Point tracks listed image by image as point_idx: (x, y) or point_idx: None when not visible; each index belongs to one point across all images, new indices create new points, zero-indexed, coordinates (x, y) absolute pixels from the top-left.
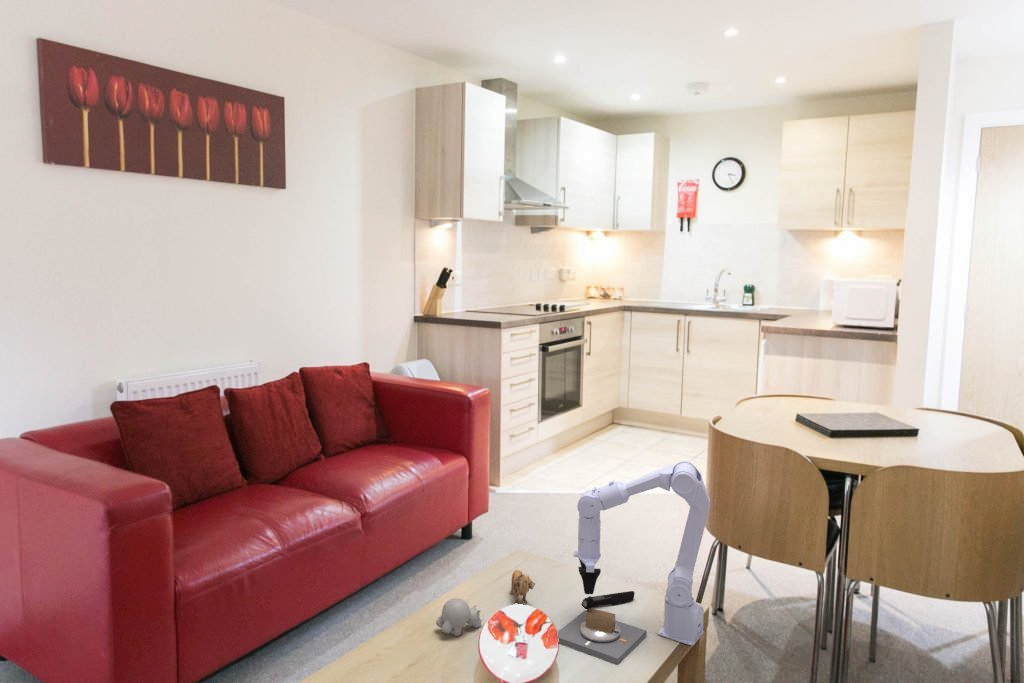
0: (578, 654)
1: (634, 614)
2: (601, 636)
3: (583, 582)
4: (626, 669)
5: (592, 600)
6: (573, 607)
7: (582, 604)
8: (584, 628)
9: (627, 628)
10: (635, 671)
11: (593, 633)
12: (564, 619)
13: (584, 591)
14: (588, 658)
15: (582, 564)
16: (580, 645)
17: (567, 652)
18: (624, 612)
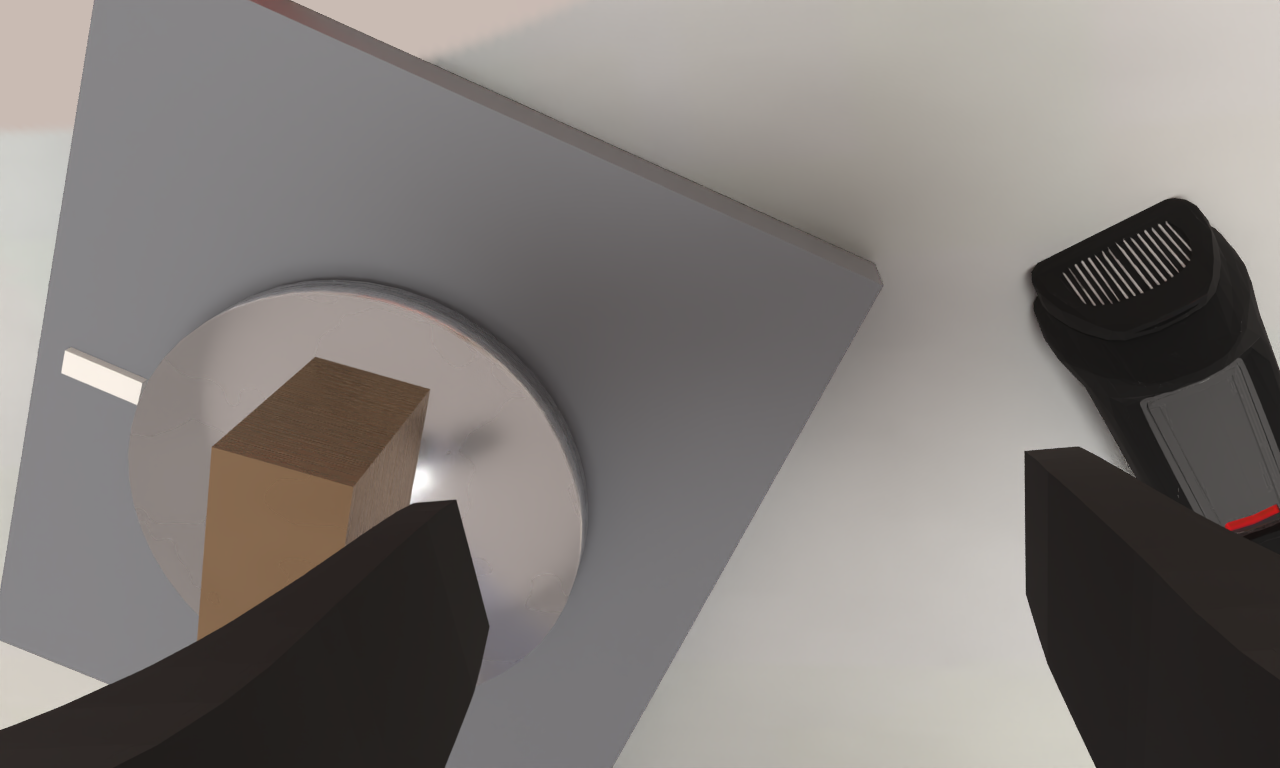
0: (26, 268)
1: (974, 756)
2: (180, 532)
3: (209, 643)
4: (4, 661)
5: (1122, 387)
6: (1099, 92)
7: (1161, 218)
8: (275, 346)
9: (547, 726)
10: (12, 717)
11: (205, 451)
12: (727, 8)
13: (386, 520)
14: (6, 367)
15: (1210, 676)
16: (50, 301)
17: (7, 150)
18: (1009, 674)
